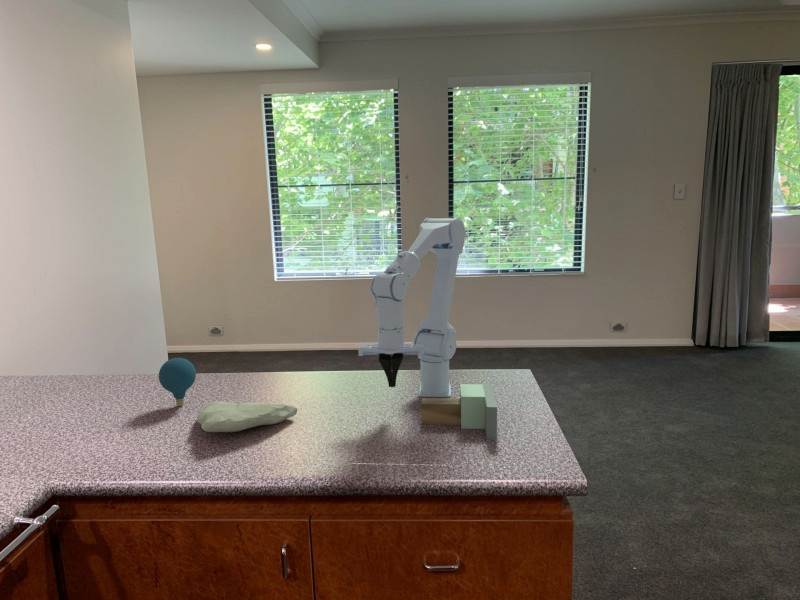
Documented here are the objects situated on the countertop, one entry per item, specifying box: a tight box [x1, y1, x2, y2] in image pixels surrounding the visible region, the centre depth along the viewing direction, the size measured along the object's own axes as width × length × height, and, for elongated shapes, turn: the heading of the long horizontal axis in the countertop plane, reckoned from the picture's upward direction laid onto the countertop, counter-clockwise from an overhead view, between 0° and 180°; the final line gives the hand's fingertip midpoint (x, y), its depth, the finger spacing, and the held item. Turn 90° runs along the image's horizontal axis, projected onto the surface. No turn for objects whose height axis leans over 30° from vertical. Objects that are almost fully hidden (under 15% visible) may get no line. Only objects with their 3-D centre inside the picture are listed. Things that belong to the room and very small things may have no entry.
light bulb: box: [158, 357, 197, 407], centre depth 130 cm, size 8×8×12 cm
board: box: [481, 380, 498, 440], centre depth 115 cm, size 16×2×7 cm, turn 175°
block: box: [459, 383, 485, 430], centre depth 117 cm, size 8×5×7 cm, turn 175°
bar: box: [420, 397, 461, 426], centre depth 117 cm, size 4×12×5 cm, turn 85°
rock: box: [196, 400, 298, 434], centre depth 117 cm, size 24×6×20 cm
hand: (392, 385), depth 121 cm, fingers closed
